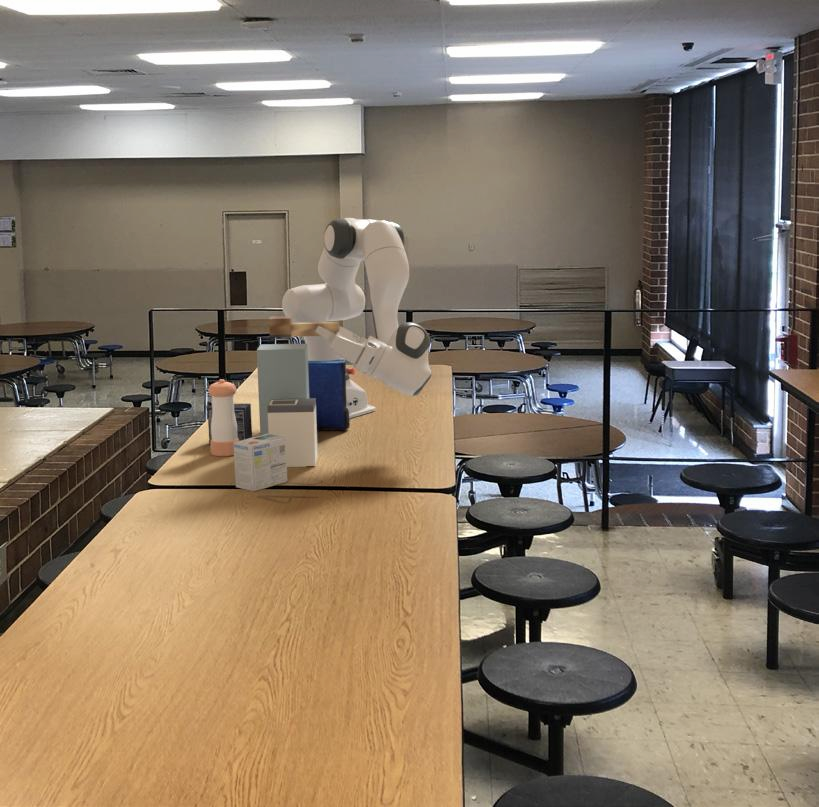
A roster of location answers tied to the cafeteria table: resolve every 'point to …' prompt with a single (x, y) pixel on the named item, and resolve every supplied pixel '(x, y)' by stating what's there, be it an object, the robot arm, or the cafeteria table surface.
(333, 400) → the blue fabric case
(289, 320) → the stamp
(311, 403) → the card box
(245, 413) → the small box
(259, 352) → the stand
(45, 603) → the cafeteria table surface
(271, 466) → the light bulb box
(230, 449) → the salt shaker
